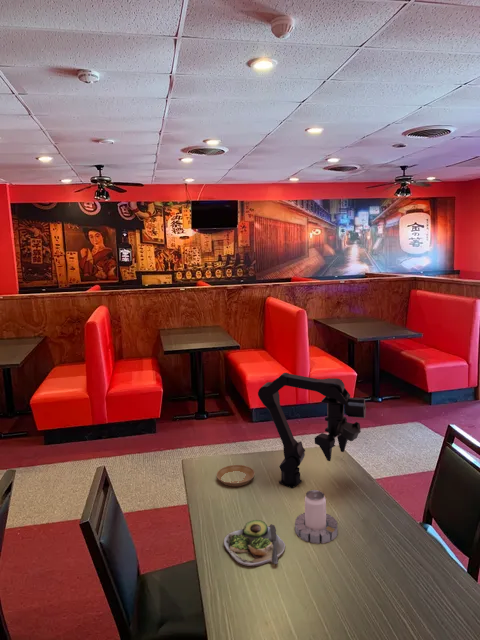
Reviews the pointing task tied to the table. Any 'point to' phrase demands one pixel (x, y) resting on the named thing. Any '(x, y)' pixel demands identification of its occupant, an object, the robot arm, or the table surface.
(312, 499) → the can
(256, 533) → the avocado toast plate
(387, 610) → the table surface
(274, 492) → the table surface
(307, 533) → the toothed ring
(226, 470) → the plant saucer
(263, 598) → the table surface
